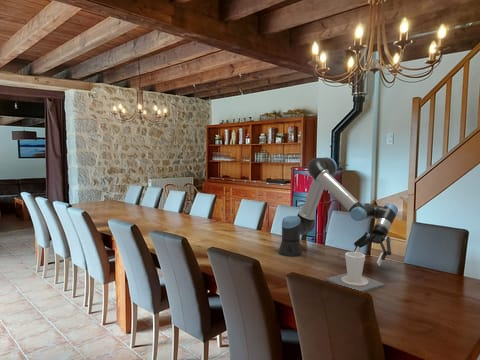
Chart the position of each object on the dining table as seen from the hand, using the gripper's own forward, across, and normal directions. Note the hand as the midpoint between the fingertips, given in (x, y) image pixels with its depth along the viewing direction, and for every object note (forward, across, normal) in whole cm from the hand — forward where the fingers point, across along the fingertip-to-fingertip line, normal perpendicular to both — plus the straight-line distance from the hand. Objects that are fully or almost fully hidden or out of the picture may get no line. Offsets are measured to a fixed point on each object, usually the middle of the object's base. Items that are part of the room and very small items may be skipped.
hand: (365, 260), depth 181 cm
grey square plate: (+14, 0, +1) cm, 14 cm away
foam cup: (+13, 0, +2) cm, 13 cm away
